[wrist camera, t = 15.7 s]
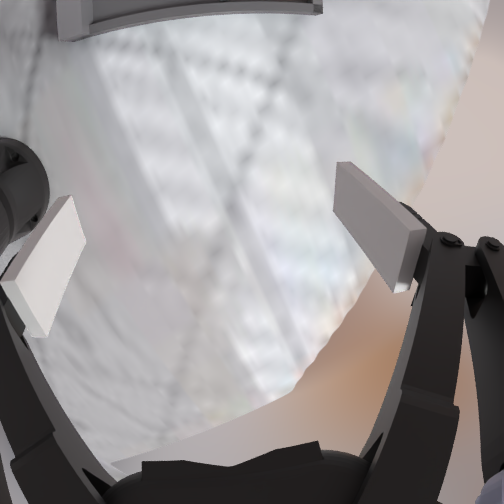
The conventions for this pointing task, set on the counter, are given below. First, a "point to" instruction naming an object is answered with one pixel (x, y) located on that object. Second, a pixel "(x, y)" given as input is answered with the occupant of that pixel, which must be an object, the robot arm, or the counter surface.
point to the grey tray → (159, 12)
